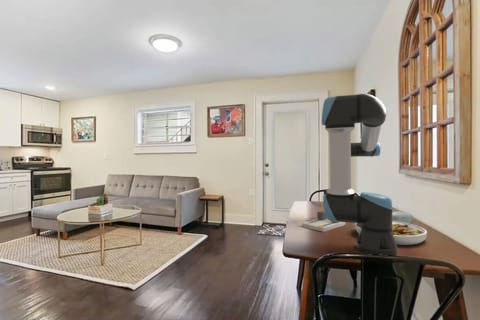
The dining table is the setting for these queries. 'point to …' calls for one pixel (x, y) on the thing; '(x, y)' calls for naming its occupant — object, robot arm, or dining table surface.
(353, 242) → the dining table surface
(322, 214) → the tab charcoal
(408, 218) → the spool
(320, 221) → the switch board
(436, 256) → the dining table surface
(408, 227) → the bowl
